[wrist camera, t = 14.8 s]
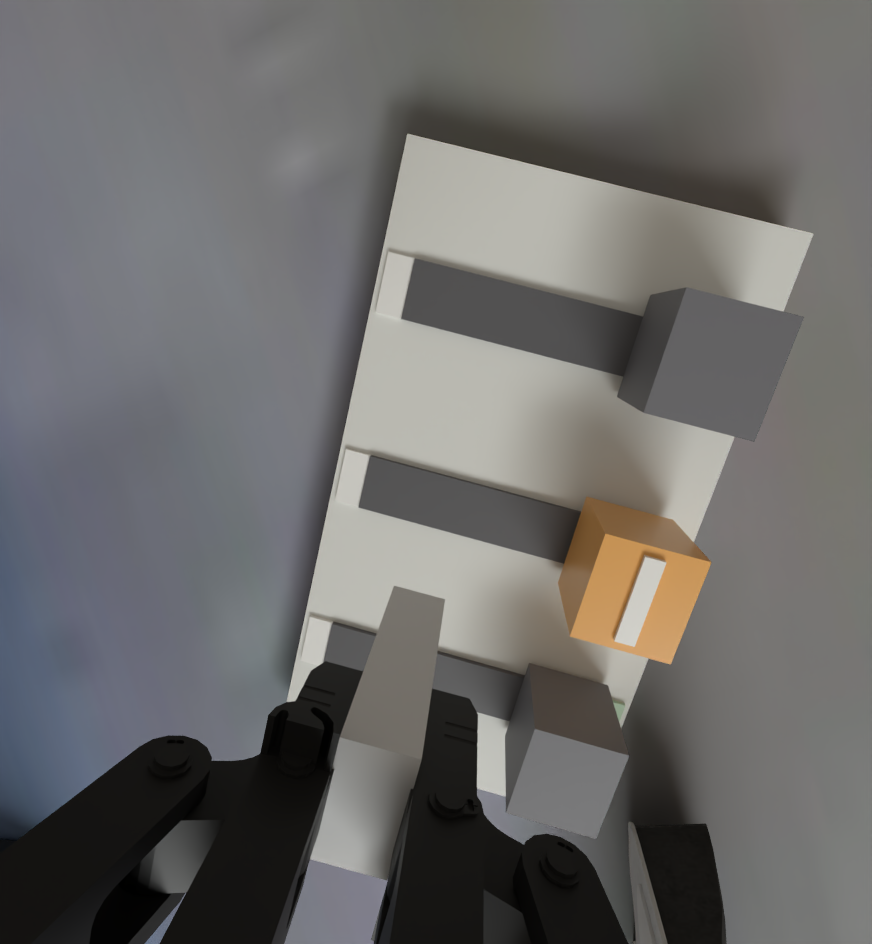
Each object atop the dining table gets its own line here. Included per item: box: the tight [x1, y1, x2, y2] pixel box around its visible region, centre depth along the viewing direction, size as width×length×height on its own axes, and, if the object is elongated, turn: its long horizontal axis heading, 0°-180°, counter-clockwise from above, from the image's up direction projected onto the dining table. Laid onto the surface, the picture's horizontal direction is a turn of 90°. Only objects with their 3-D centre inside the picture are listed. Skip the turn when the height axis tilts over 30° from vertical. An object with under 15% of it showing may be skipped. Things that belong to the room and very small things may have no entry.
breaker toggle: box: [558, 496, 711, 665], centre depth 25 cm, size 4×4×5 cm
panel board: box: [287, 134, 813, 839], centre depth 27 cm, size 17×30×8 cm, turn 166°
